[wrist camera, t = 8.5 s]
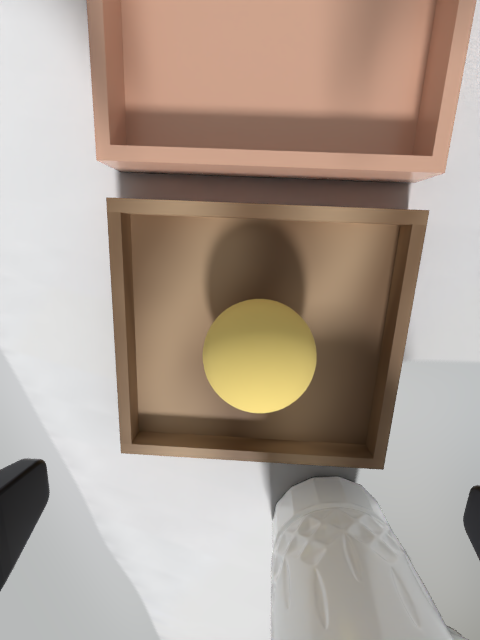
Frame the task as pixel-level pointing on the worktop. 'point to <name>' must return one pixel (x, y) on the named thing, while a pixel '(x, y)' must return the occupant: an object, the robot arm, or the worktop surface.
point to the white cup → (344, 570)
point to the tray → (261, 283)
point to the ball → (259, 356)
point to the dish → (278, 86)
